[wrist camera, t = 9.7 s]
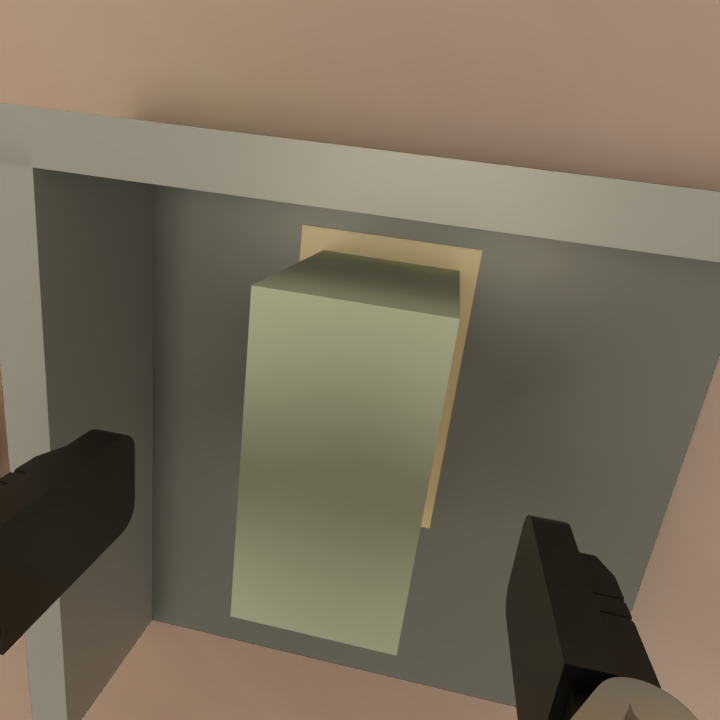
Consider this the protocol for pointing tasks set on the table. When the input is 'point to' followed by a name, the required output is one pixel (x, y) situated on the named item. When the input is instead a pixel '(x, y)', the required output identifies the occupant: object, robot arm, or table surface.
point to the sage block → (340, 442)
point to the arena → (229, 356)
